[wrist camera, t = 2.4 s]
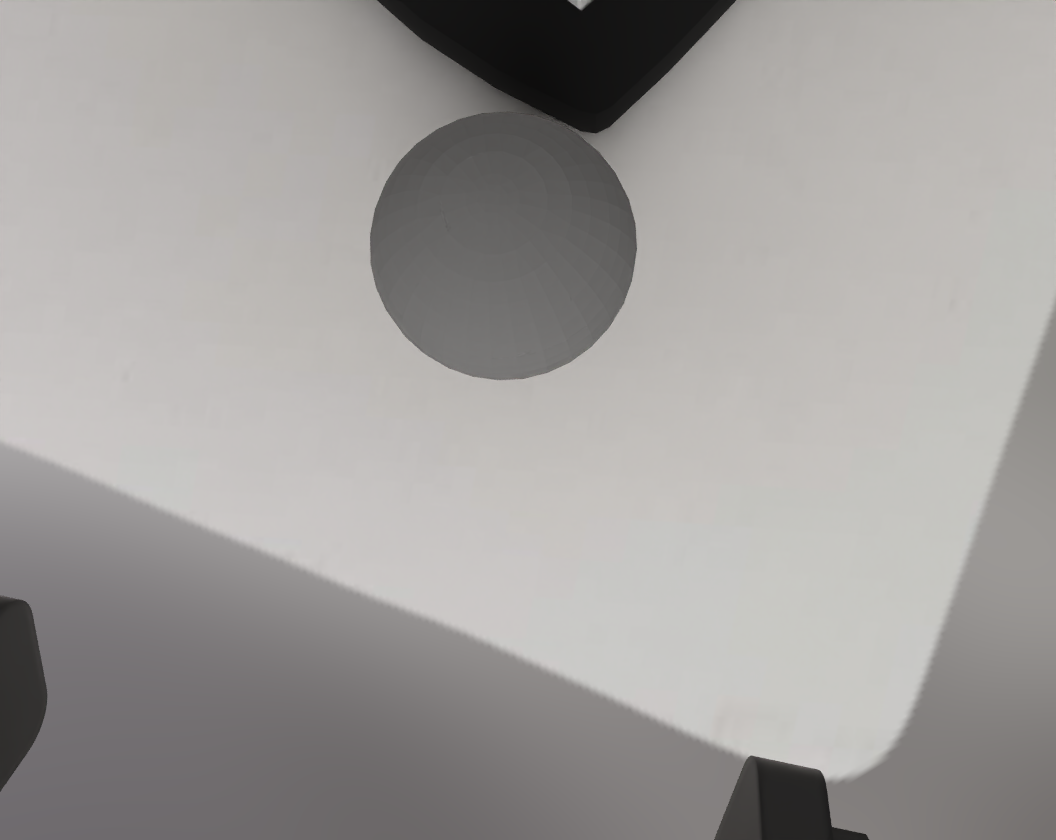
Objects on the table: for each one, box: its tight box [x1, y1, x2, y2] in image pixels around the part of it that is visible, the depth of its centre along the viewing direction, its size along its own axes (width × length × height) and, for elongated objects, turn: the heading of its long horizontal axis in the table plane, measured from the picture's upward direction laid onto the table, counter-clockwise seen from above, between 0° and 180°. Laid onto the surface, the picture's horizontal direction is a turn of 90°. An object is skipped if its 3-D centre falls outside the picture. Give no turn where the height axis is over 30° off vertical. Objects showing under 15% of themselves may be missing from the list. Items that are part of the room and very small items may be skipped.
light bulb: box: [370, 112, 637, 380], centre depth 25 cm, size 6×6×10 cm
